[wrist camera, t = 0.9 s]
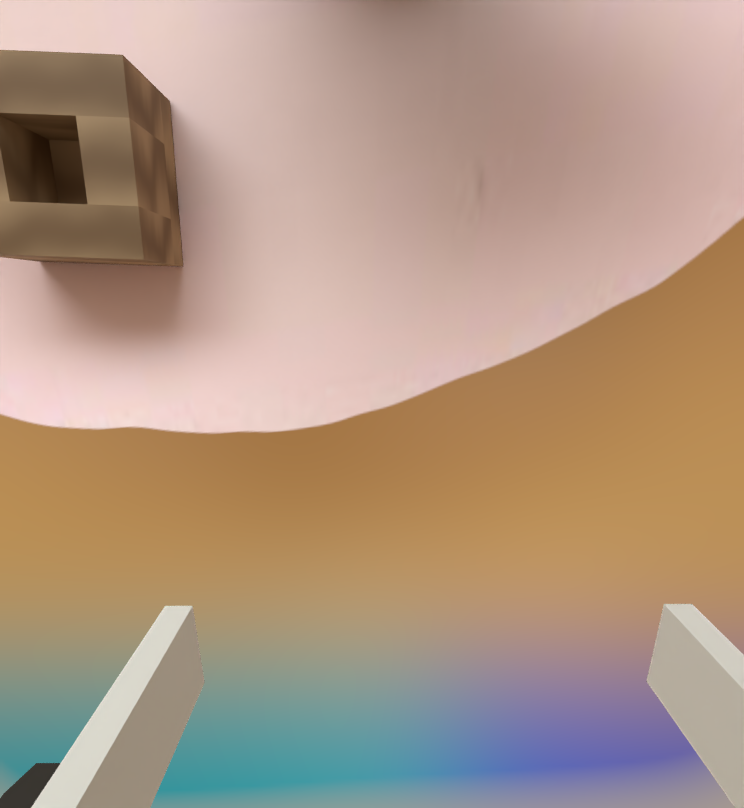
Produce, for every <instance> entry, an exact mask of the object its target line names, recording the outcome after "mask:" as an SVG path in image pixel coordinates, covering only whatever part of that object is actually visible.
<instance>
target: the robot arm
mask: <svg viewBox="0 0 744 808" xmlns="http://www.w3.org/2000/svg"><path fill="white" fill-rule="evenodd" d="M647 683H648V684H649V685H650V687H651V688H652V690H653V691H654V693H655V694H656V695H657V697H658V698H659V700H660V701H661V703H662V704H663V705H664V707H665V708H666V710H667V711H668V713H669V714H670V715H671V717H672V718H673V720H674V721H675V723H676V724H677V725H678V727H679V728H680V730H681V731H682V733H683V734H684V735H685V737H686V738H687V740H688V741H689V743H690V744H691V745H692V747H693V748H694V750H695V751H696V753H697V754H698V755H699V757H700V758H701V760H702V761H703V763H704V764H705V765H706V767H707V768H708V770H709V771H710V773H711V774H712V775H713V777H714V778H715V780H716V781H717V782H718V784H719V785H720V787H721V788H722V790H723V791H724V793H725V794H726V795H727V797H728V798H729V800H730V801H731V803H732V804H733V805H734V807H735V808H744V655H743V654H742V653H741V652H740V651H739V650H738V649H737V648H736V647H735V646H734V645H733V644H732V643H731V642H730V641H729V640H728V639H727V638H726V637H725V636H724V635H723V634H722V633H721V632H720V631H719V630H718V629H717V628H716V627H715V626H714V625H713V624H712V623H711V622H710V621H709V620H708V619H707V618H705V617H704V616H703V615H702V614H701V613H700V612H699V611H698V610H697V609H696V608H695V607H694V606H693V605H692V604H664V607H663V611H662V615H661V620H660V624H659V629H658V633H657V637H656V642H655V647H654V651H653V655H652V660H651V664H650V668H649V673H648V677H647ZM203 685H204V676H203V670H202V663H201V657H200V651H199V644H198V638H197V632H196V625H195V619H194V613H193V607H192V606H165V607H164V609H163V610H162V612H161V614H160V615H159V616H158V618H157V619H156V621H155V622H154V624H153V625H152V627H151V629H150V630H149V631H148V633H147V634H146V636H145V637H144V639H143V640H142V642H141V643H140V645H139V646H138V648H137V649H136V651H135V652H134V654H133V655H132V657H131V658H130V660H129V661H128V663H127V664H126V666H125V668H124V669H123V670H122V672H121V673H120V675H119V676H118V678H117V679H116V681H115V682H114V684H113V685H112V687H111V689H110V690H109V691H108V693H107V695H106V696H105V698H104V699H103V700H102V702H101V703H100V705H99V706H98V708H97V709H96V711H95V712H94V714H93V715H92V717H91V719H90V720H89V721H88V723H87V724H86V726H85V727H84V729H83V731H82V732H81V734H80V735H79V736H78V738H77V739H76V741H75V743H74V744H73V746H72V747H71V749H70V750H69V752H68V753H67V755H66V756H65V758H64V759H63V761H62V762H61V763H36V764H35V765H34V766H33V767H32V768H31V769H30V770H29V771H28V772H26V773H25V774H24V775H23V776H22V777H21V778H20V779H19V780H18V781H17V782H16V783H15V784H14V785H13V786H12V787H10V788H9V789H8V790H7V791H6V792H5V793H4V794H3V795H2V797H1V798H0V808H150V807H151V804H152V802H153V800H154V798H155V795H156V793H157V791H158V788H159V786H160V784H161V781H162V779H163V777H164V774H165V772H166V770H167V768H168V765H169V763H170V761H171V758H172V756H173V754H174V751H175V749H176V747H177V745H178V742H179V740H180V738H181V735H182V733H183V731H184V728H185V726H186V724H187V722H188V719H189V717H190V715H191V712H192V710H193V708H194V705H195V703H196V701H197V698H198V696H199V694H200V692H201V689H202V687H203Z"/></svg>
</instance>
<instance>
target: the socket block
mask: <svg viewBox="0 0 744 808" xmlns="http://www.w3.org/2000/svg"><path fill="white" fill-rule="evenodd" d="M0 257H6V258H14V259H23V260H32V261H42V262H70V263H99V264H127V265H155V266H183V258H182V246H181V233H180V221H179V209H178V196H177V184H176V172H175V159H174V147H173V134H172V122H171V110H170V101H169V100H168V99H167V98H166V97H165V96H164V95H163V94H162V93H161V92H160V91H159V90H158V89H157V88H156V87H155V86H154V85H153V84H152V83H151V82H150V81H149V80H148V79H147V78H146V77H145V76H144V75H143V74H142V73H141V72H140V71H139V70H138V69H137V68H135V67H134V66H133V65H132V64H131V63H130V62H129V61H128V60H127V59H126V58H125V57H124V56H123V55H115V54H90V53H65V52H40V51H15V50H0Z"/></svg>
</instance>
